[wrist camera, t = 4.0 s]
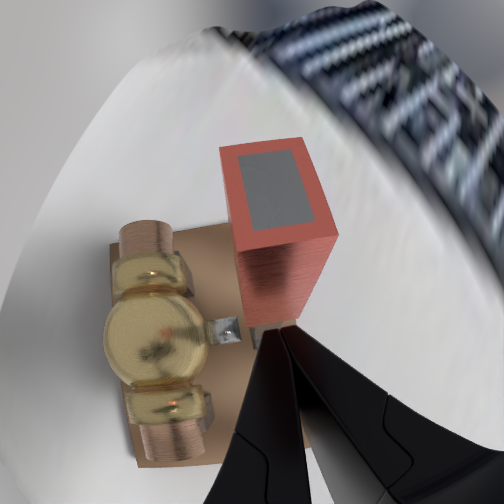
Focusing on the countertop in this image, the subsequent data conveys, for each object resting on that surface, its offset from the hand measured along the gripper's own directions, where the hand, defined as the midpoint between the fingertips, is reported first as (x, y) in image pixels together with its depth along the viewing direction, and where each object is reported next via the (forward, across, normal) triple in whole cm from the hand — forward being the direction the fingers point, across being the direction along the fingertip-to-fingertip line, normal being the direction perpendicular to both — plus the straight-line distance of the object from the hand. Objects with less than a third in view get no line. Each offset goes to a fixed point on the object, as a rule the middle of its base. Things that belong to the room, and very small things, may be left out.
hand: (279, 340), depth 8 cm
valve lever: (+6, 0, +4) cm, 7 cm away
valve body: (+9, +4, +8) cm, 13 cm away
